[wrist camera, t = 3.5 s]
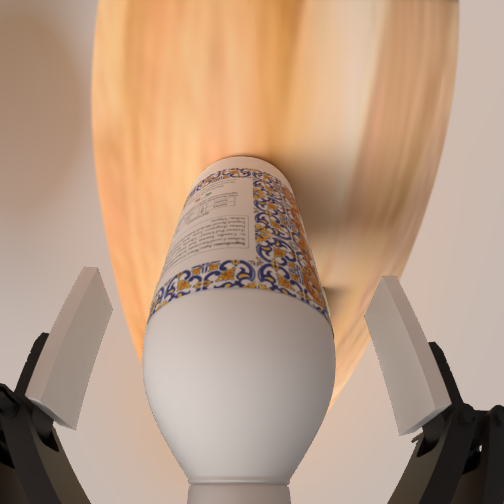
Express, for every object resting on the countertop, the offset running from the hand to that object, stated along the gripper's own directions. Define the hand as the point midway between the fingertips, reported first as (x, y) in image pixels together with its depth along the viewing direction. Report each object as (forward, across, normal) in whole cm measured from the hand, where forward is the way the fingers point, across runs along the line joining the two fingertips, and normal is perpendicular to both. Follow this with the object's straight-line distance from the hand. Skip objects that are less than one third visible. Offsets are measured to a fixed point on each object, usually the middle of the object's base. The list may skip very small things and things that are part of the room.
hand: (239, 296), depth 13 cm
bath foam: (+9, 0, 0) cm, 9 cm away
